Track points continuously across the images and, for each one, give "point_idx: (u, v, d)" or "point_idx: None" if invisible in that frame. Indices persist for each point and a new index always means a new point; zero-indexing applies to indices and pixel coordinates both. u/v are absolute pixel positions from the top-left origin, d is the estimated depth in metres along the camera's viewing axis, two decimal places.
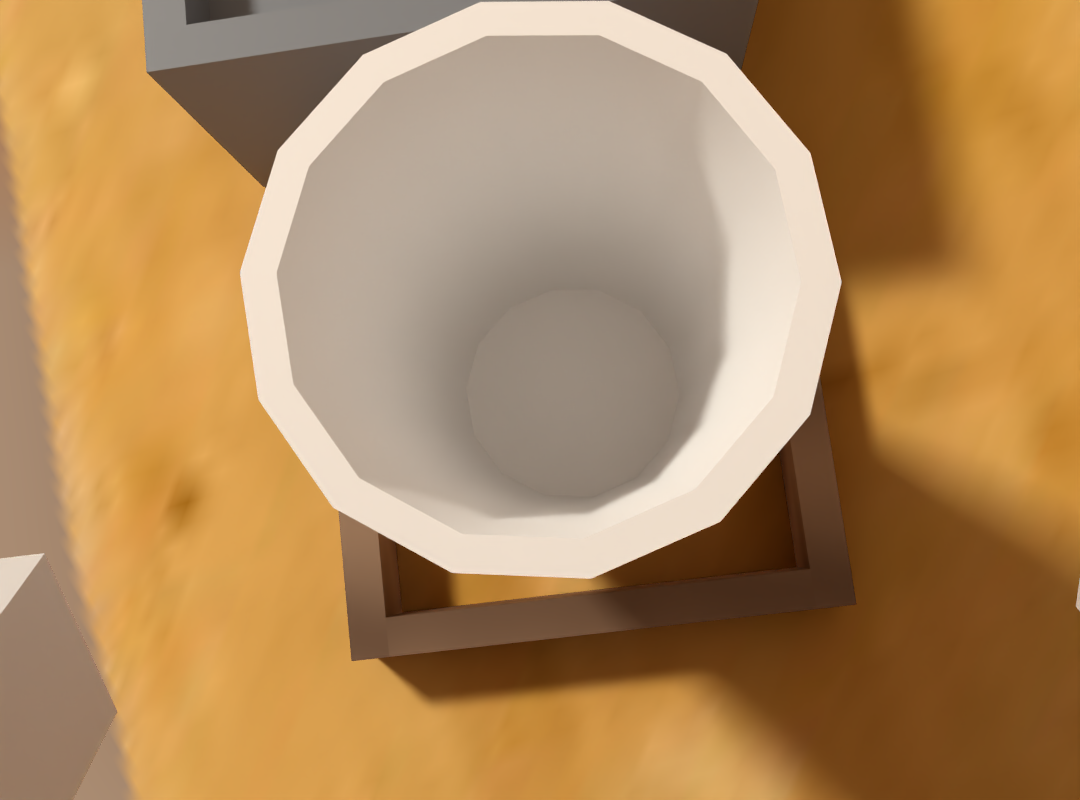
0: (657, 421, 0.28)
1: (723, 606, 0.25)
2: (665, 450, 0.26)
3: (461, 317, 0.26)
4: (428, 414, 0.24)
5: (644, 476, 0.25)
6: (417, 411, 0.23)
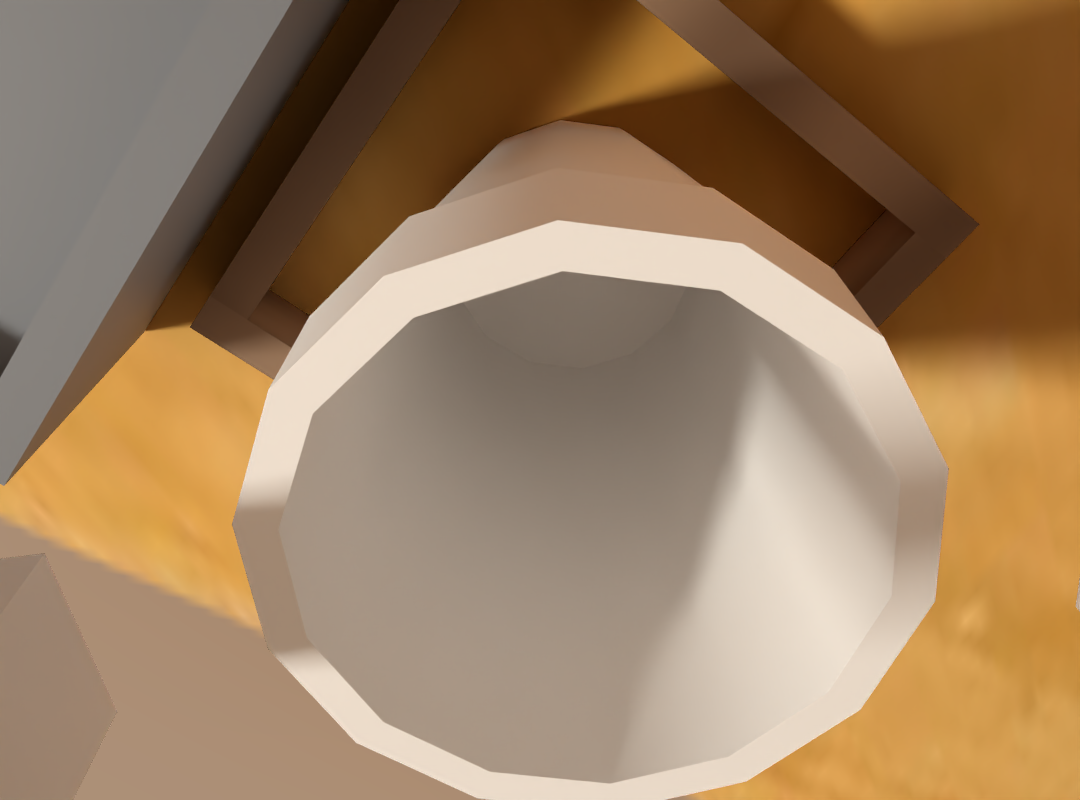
0: None
1: None
2: None
3: (438, 330, 0.23)
4: (512, 462, 0.22)
5: (713, 303, 0.23)
6: (510, 487, 0.21)
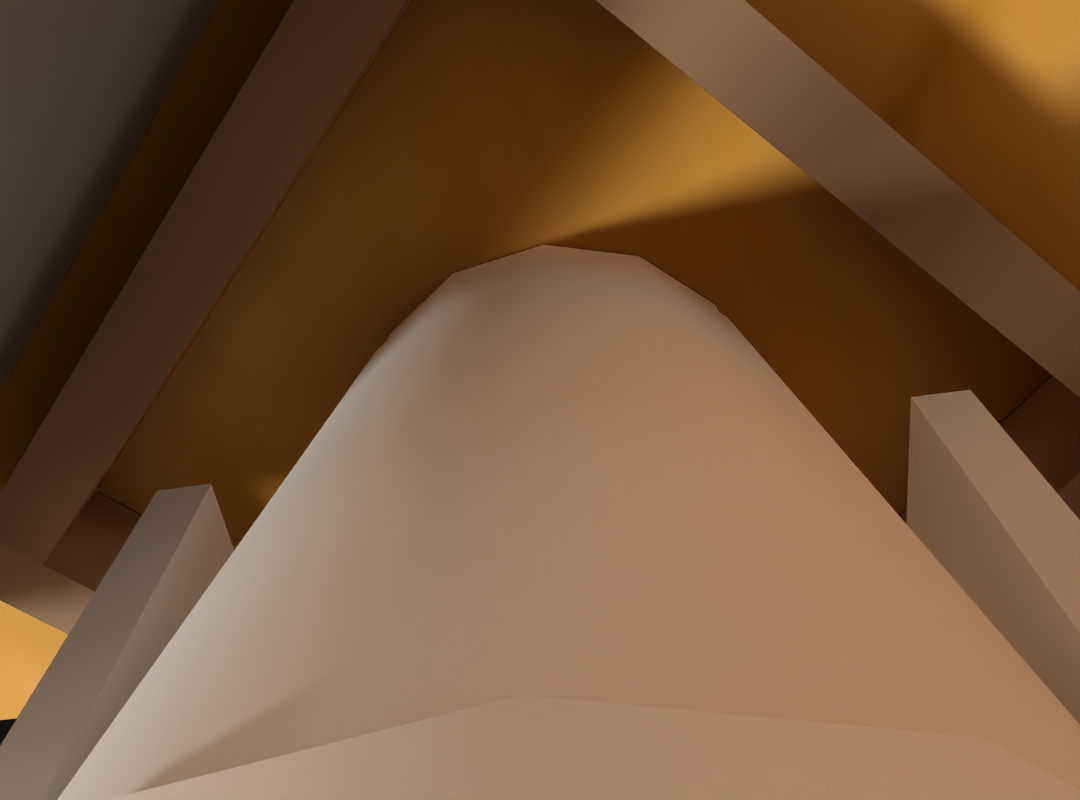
0: None
1: None
2: None
3: None
4: None
5: None
6: None
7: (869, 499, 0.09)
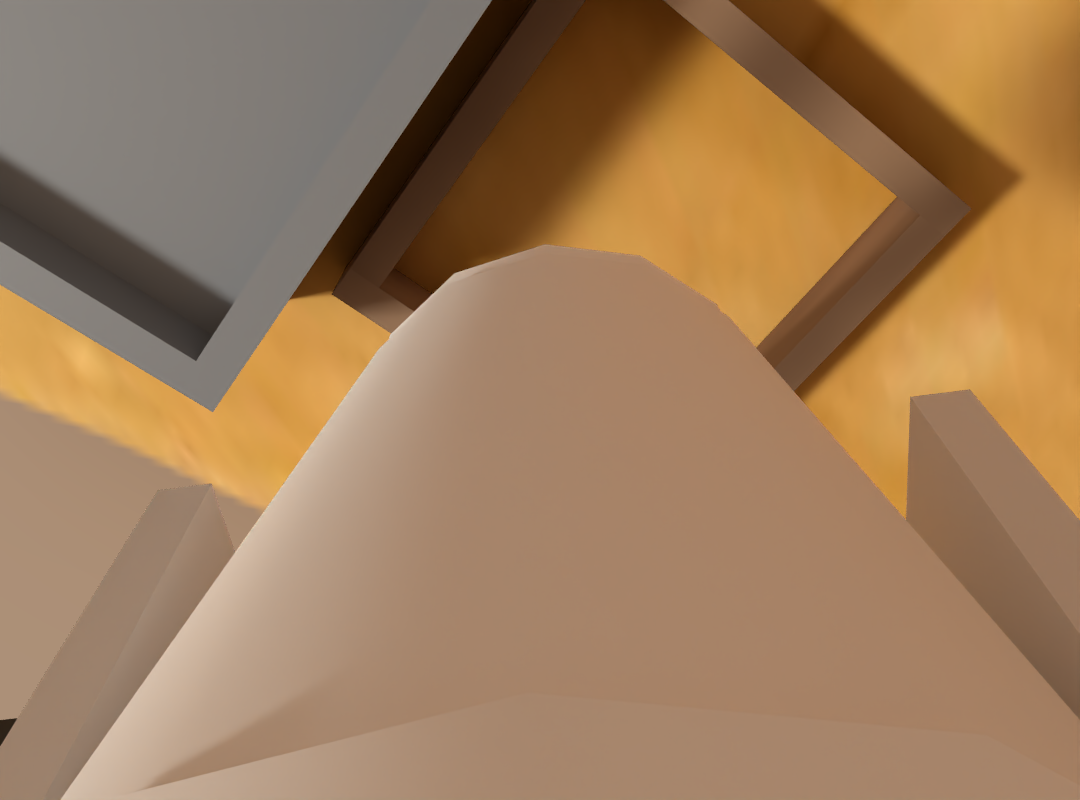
0: None
1: (878, 290, 0.29)
2: None
3: None
4: None
5: None
6: None
7: (871, 498, 0.09)
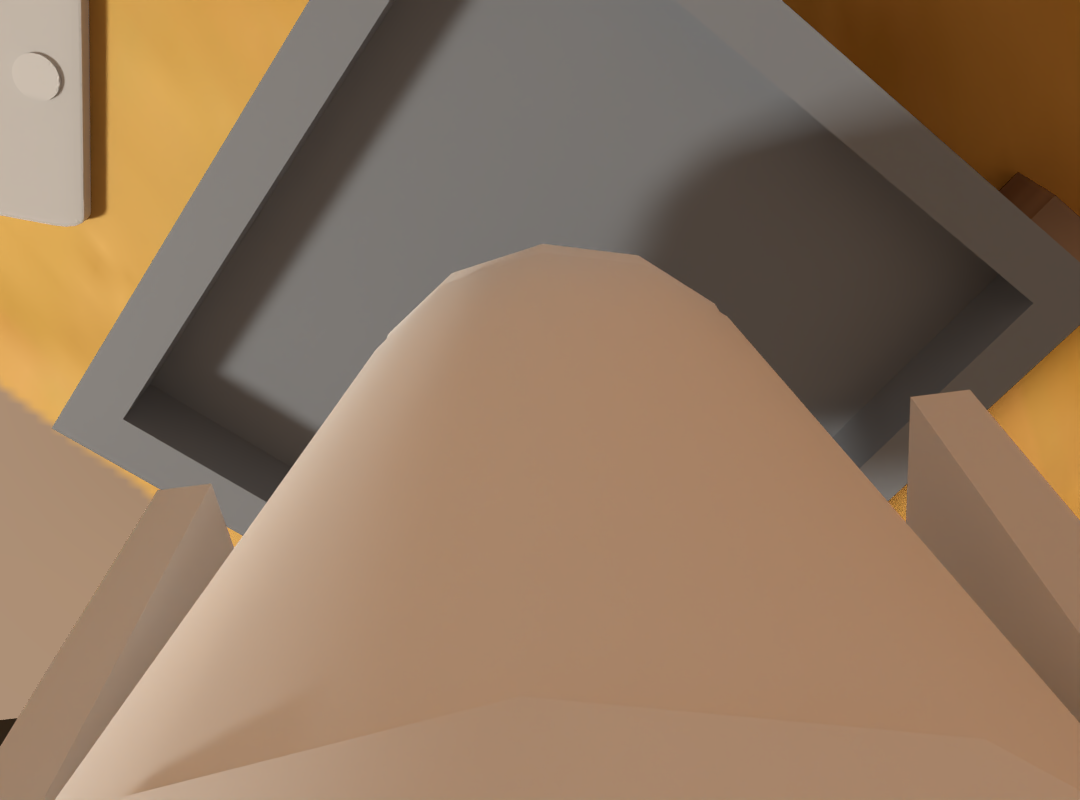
0: None
1: None
2: None
3: None
4: None
5: None
6: None
7: (870, 499, 0.09)
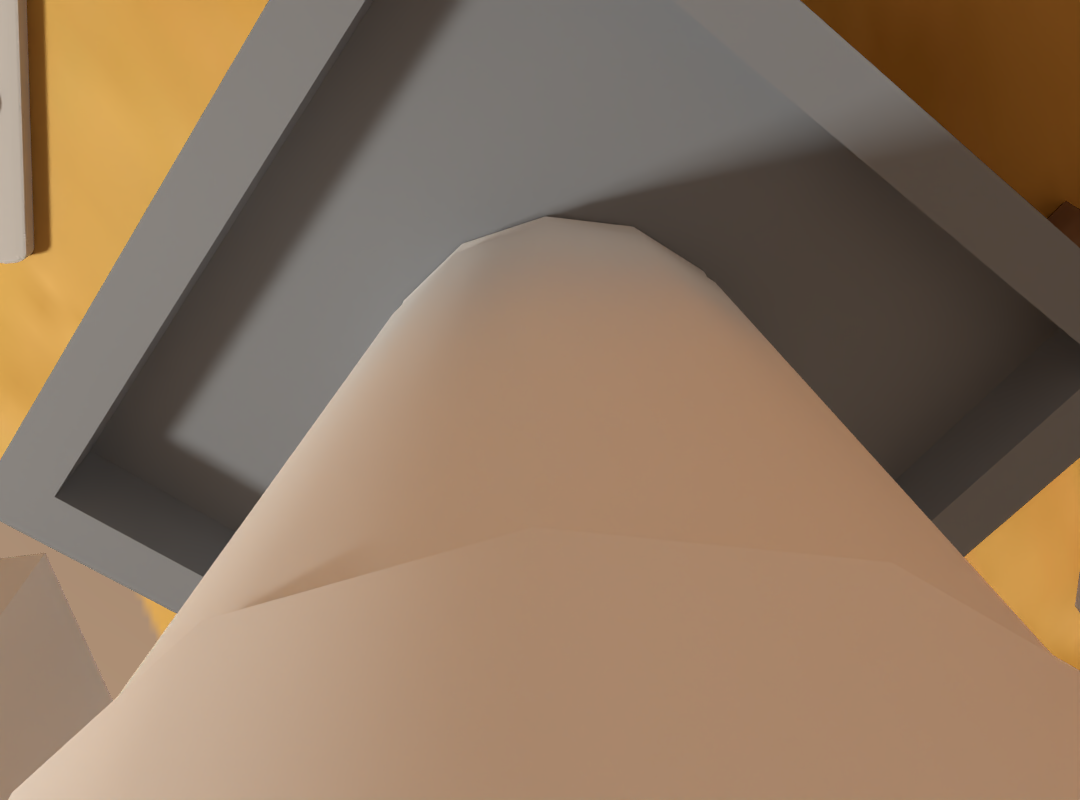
0: None
1: None
2: None
3: None
4: None
5: None
6: None
7: (832, 425, 0.10)
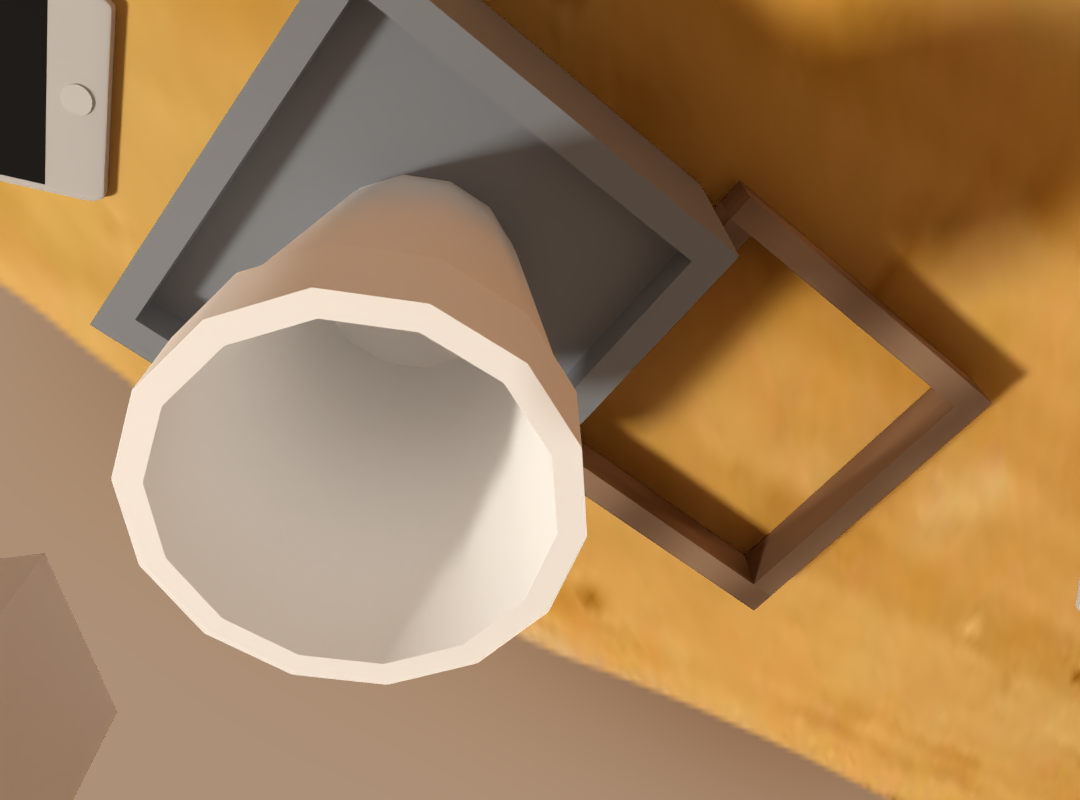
0: None
1: (921, 456, 0.40)
2: None
3: (301, 338, 0.29)
4: (355, 441, 0.28)
5: None
6: (349, 460, 0.28)
7: (492, 256, 0.24)
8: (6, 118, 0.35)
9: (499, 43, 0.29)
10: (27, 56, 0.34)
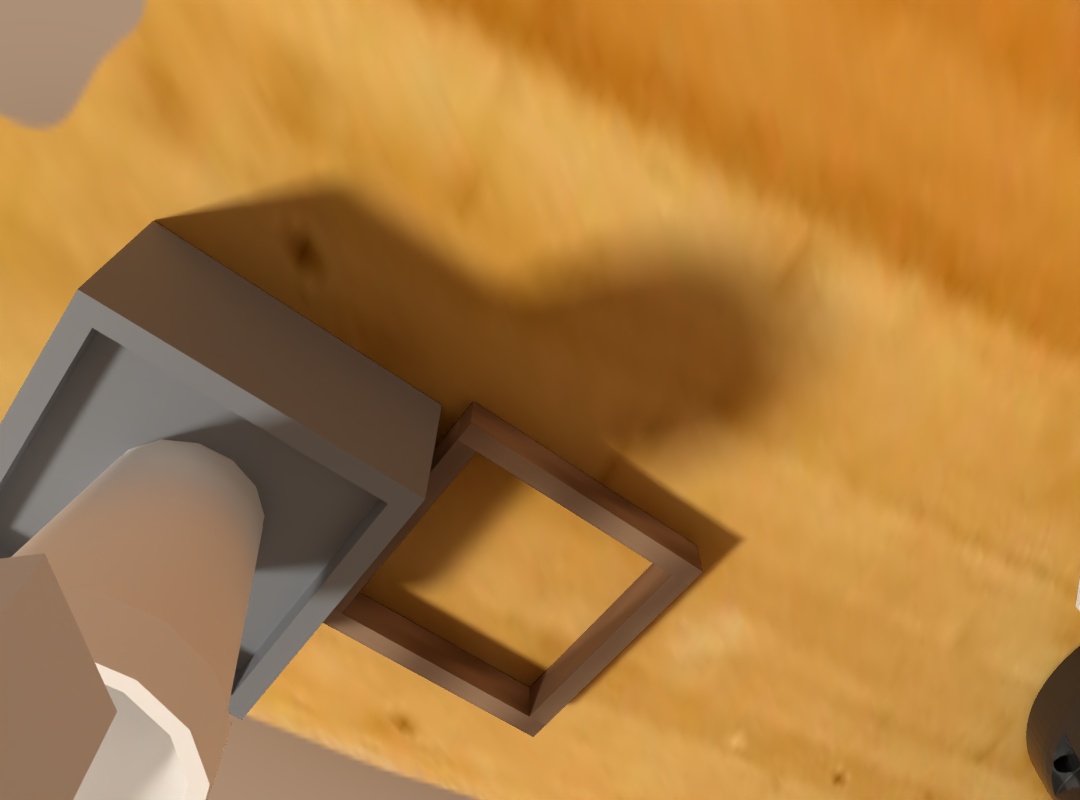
0: None
1: (651, 613, 0.47)
2: None
3: None
4: None
5: None
6: None
7: (183, 543, 0.32)
8: None
9: (226, 341, 0.37)
10: None
